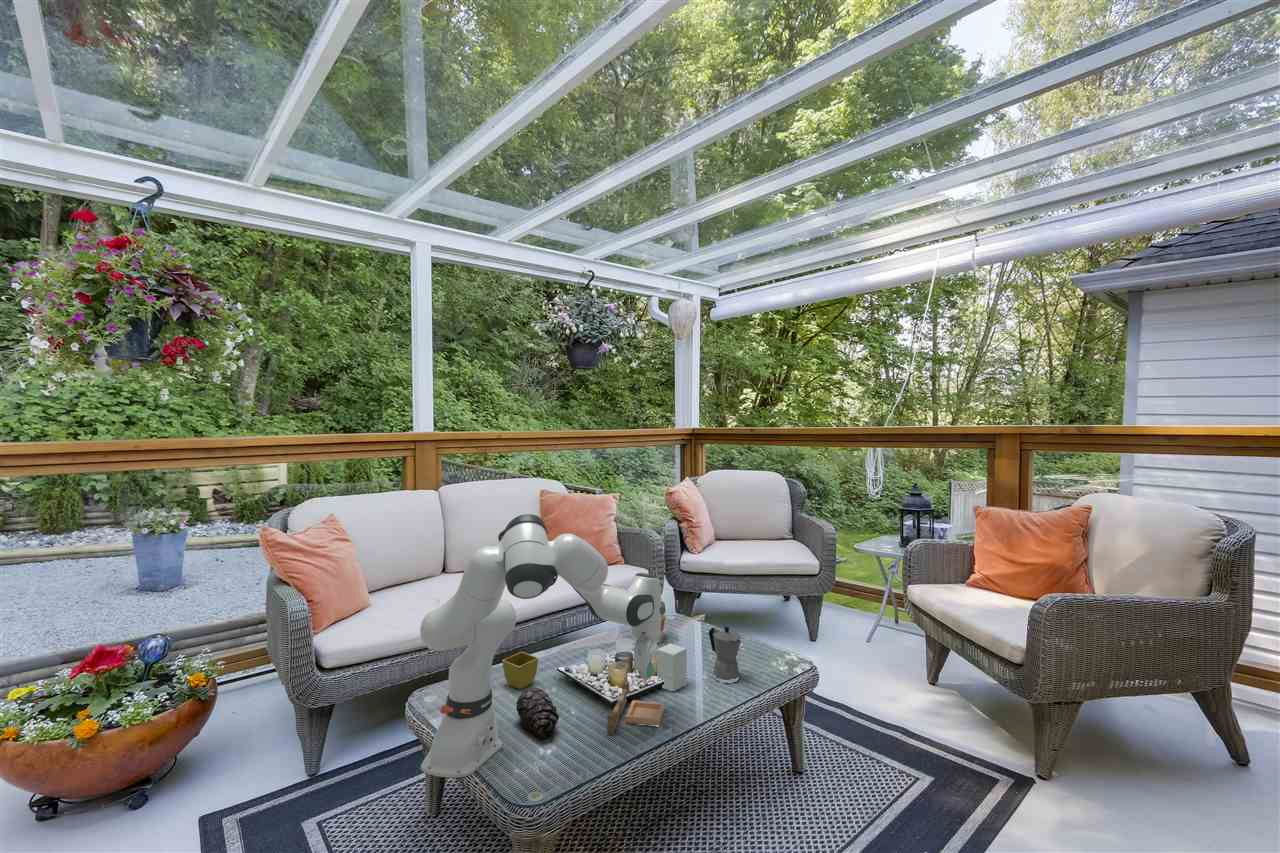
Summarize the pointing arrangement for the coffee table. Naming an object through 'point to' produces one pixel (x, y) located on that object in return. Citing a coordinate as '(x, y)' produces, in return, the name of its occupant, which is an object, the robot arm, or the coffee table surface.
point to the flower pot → (520, 669)
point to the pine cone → (537, 714)
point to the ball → (648, 670)
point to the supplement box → (672, 666)
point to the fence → (617, 710)
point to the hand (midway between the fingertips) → (646, 672)
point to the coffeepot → (725, 653)
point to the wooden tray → (645, 713)
